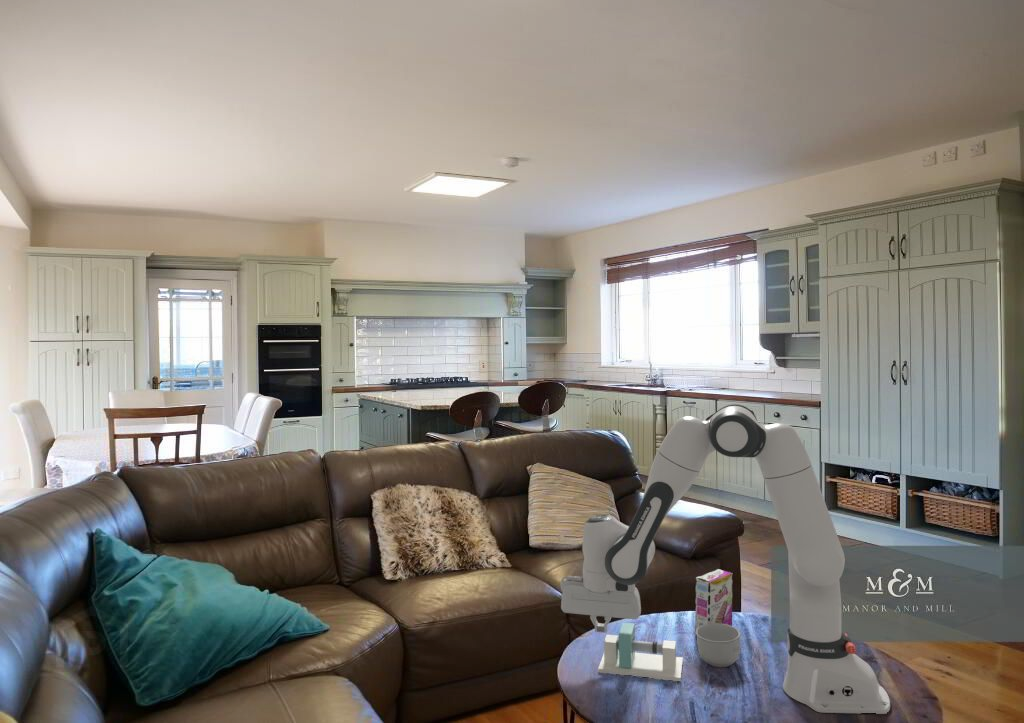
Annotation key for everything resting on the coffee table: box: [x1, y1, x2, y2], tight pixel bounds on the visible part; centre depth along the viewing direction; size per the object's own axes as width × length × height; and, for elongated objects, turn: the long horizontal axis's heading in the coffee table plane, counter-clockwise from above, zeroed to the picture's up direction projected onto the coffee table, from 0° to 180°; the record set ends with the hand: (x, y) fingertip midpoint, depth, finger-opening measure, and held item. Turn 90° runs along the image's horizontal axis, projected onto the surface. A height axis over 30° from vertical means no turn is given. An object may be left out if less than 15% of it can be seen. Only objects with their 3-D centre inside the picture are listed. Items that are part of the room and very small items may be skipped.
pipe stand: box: [597, 634, 684, 683], centre depth 183 cm, size 20×11×7 cm, turn 74°
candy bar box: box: [694, 568, 733, 636], centre depth 201 cm, size 11×5×16 cm, turn 130°
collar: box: [618, 622, 636, 668], centre depth 183 cm, size 3×8×8 cm, turn 164°
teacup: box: [695, 621, 741, 668], centre depth 186 cm, size 14×11×8 cm
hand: (600, 631), depth 185 cm, fingers closed
